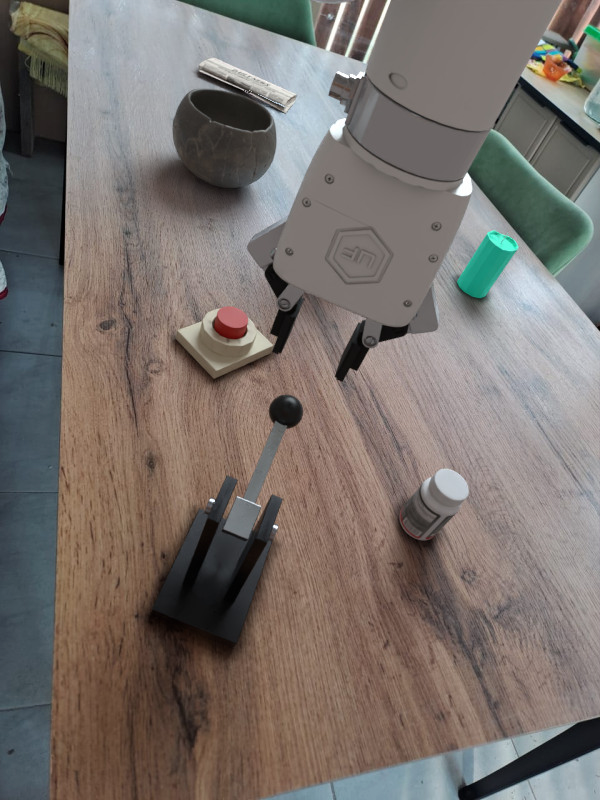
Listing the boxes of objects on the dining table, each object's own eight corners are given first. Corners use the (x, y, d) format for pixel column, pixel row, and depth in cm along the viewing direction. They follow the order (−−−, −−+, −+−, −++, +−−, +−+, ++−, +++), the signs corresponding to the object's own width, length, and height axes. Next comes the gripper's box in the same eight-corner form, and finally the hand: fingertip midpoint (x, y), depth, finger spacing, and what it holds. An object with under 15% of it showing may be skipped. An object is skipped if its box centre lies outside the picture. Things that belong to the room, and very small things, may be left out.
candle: (491, 292, 107) (528, 238, 98) (477, 302, 103) (515, 246, 94) (465, 273, 109) (500, 219, 100) (451, 282, 105) (486, 226, 96)
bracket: (197, 514, 58) (223, 439, 49) (270, 544, 58) (309, 475, 49) (149, 614, 50) (171, 547, 41) (234, 648, 50) (273, 589, 41)
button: (227, 343, 71) (230, 331, 69) (207, 323, 72) (210, 311, 71) (250, 333, 73) (254, 322, 72) (231, 314, 75) (234, 302, 73)
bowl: (198, 209, 95) (213, 135, 86) (148, 151, 102) (157, 77, 93) (282, 201, 105) (303, 135, 96) (232, 149, 112) (247, 83, 103)
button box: (213, 379, 71) (219, 359, 68) (175, 338, 73) (179, 318, 71) (271, 353, 77) (278, 334, 74) (233, 316, 79) (239, 297, 77)
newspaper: (194, 74, 131) (196, 62, 129) (213, 67, 140) (215, 56, 139) (284, 114, 131) (287, 103, 130) (297, 105, 141) (300, 94, 139)
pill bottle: (431, 507, 68) (467, 468, 62) (439, 543, 65) (477, 506, 59) (395, 502, 67) (428, 461, 61) (401, 539, 63) (436, 500, 58)
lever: (274, 395, 52) (278, 384, 49) (304, 408, 52) (311, 398, 49) (216, 530, 47) (217, 526, 44) (250, 544, 47) (253, 541, 44)
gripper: (255, 86, 29) (193, 341, 42) (554, 220, 30) (403, 431, 42) (293, 53, 34) (228, 288, 47) (546, 167, 35) (414, 369, 48)
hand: (312, 354), depth 45 cm, fingers open, 4 cm apart
